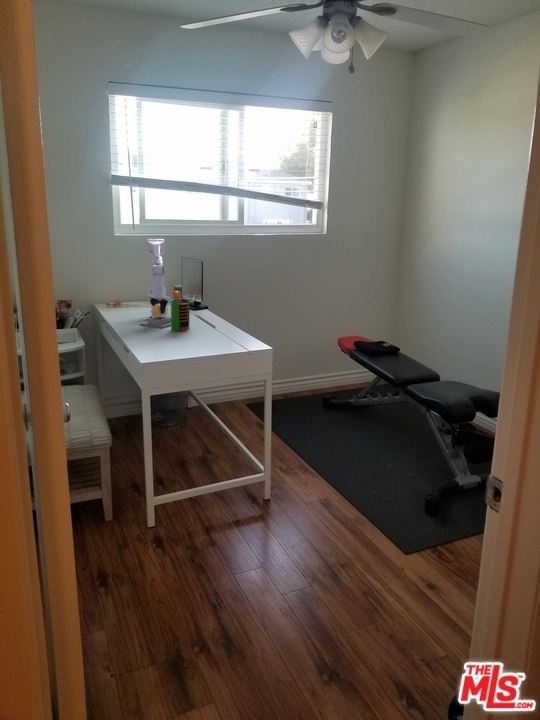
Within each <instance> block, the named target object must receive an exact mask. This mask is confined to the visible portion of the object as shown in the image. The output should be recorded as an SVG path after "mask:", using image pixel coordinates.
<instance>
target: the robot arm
mask: <svg viewBox="0 0 540 720" xmlns="http://www.w3.org/2000/svg"><path fill="white" fill-rule="evenodd" d="M145 247H146V253H147V255H149V256H150V258H151V267H150V268H151V276H152V277H151V279H152V284H151V285H150V286H149V287H148V294H147V296H146V298H147V299H148V301H149V302H150V306H151V307H150V313H151V315H149V316H148V318H151V317H152V318H153V317H156V316H153V312H151V310H153V308H152V306H154V305H155V304H160V309H161V314H163V313H165V308H166V309H168V310H166V315H164V317H170V315H169V305H168V304H169V302H171V300H172V299H171V296H167V291H166V290H167V289H166V287H165V281H164V280H165V279H164V278H165V265H164V263H163V257H162V255H164V253H165V247H166V246H165V239H164V238H146V246H145Z"/></svg>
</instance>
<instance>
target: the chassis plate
mask: <svg viewBox="0 0 540 720" xmlns="http://www.w3.org/2000/svg"><path fill="white" fill-rule="evenodd" d="M139 325H140V326H143V325H144V326H145V327H149V326H151V328H156V327H157V329H166V328H169V327H170V328H171V316H167V317H164V316H160V317H153V318H151V317H148V318H147V321H143V322H141V323H139ZM165 327H166V328H165Z"/></svg>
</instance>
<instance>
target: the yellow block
mask: <svg viewBox="0 0 540 720" xmlns="http://www.w3.org/2000/svg"><path fill="white" fill-rule="evenodd" d="M152 308H153V310H151V309H150V313H151V312H153V316H156V317H160V316H164V315H166V310H168V311H169V308H168V309H166V308H165V313H163V314H161V309H160V304H155V305H154V306H152Z"/></svg>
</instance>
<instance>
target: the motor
mask: <svg viewBox="0 0 540 720" xmlns="http://www.w3.org/2000/svg"><path fill="white" fill-rule="evenodd" d="M172 296H176V297H175V298H172V299H171V301H170V317H171V326H170V328H171V329H170V330H171V331H173V332H175V333H179V332H180V331H182V332H187V330H188V331H189V329H190V299H189V298H181V293H180V291H179V290H174V291H172Z"/></svg>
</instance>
